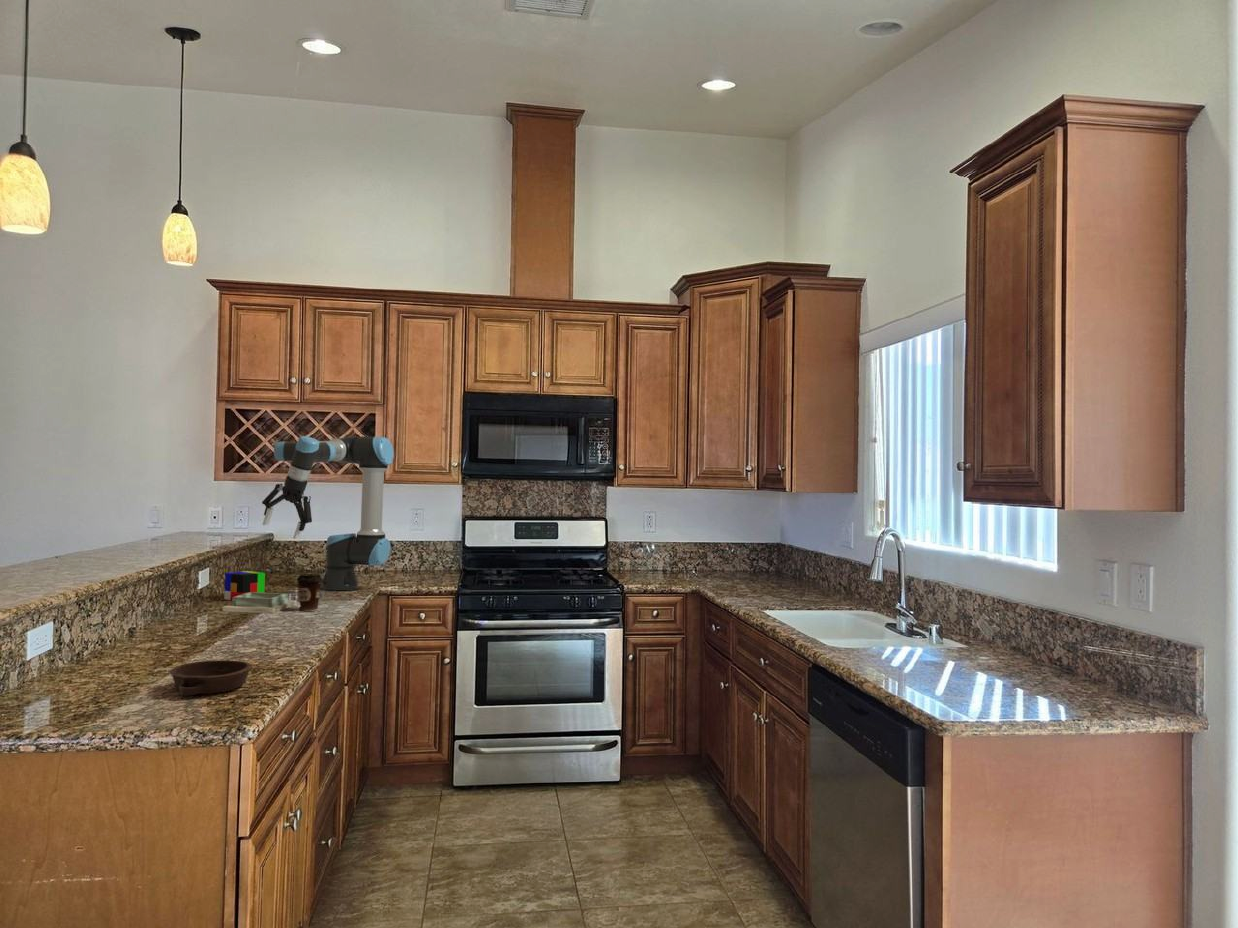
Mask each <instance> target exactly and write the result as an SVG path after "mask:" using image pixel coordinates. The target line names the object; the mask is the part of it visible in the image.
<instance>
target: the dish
mask: <svg viewBox="0 0 1238 928" xmlns="http://www.w3.org/2000/svg"><path fill="white" fill-rule="evenodd" d="M252 668H253V665H252V663H250V662H246V661H241V660H203V661H201V660H200V661H193V662H187V663H184V664H180V665H176V666H175V667H173V668H171V669H170V670H169V673H170V675H171V676H172V680H173V682H174V686H175V687H176V689H177V690H178V693H179V695H181V696H184V697H185V696H196V695H195V694H208V695H212V694H211V693H218V692H223V693H225V692H224V691H228V692H230V691H229V690H231V691H233V690H232V689H235V688H237V689H239V688H241V687H242V686H243V685H244V684H245V682H246V680H247V678H248V675H249V672H250V671H251V669H252ZM240 686H241V687H240ZM238 687H239V688H238ZM235 690H236V689H235ZM218 694H219V693H218Z"/></svg>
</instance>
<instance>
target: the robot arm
mask: <svg viewBox="0 0 1238 928" xmlns="http://www.w3.org/2000/svg"><path fill="white" fill-rule="evenodd" d="M273 456H274V458H275V459H276V460H277V461H279V462H290V465H289V469H288V471H287V475H286V477H285V480H284V485H283V484H282V483H277V484H275V486H274V488H273V490H271V492H270V493H269V494H268V495H267V496H266V497H265V498H264V499H263V500H262V503H261V504H262V505H264V506H265V508H264V513H263V516H264V518H263V521H262V526H268V525H270V522H271V518H272V516H273V512H274V506H275V505H278V503H281V502H282V501H283V500H285V501H287V502H289V503H291V504H293V505H294V507H295V509H296V512H297V515H298V519H299V521H298V522H297V526H296V528H295V531H294V535H293V537H292V539H294V540H296V539H300V537H301V534H302V532H303V531H305V528H306V524H310V523H312V522H313V518H312V517H313V516H312V509H311V498H312V497H311V495H304V492H305V491H306V489H307V488H306V487H307V485H308V480H309V478H310V475H311V471H312V469H313V466H314V464H315V463H318V464H319V463H328V462H342V463H347V464H348V463H349V464H353V465H354V464H357V465H358V469H359V470H360V471H361V473H362V476H361V477H362V480H361V507H360V508H361V509H360V529H359V531H357V533H353V532H351V533H344V534H335V535H334V534H332V535H329V536H328V537H327V540H326V551H325V552H326V553H325V554H326V556H325V557H326V558H325V559H326V560H325V562H326V563H325V573H324V575H323V577H322V579H323V581H322V583H321V587H320V590H323V591H330V590H334V591H335V592H337V591H338V590H346V591H354V590H358V589H359V580H358V577H357V574H356V573H357V572H356V570H355V568H356V567H355V566H356V565H357V566H370V567H379V566H382V565H384V564H385V563H386V562H387V560H388V559H389V557H390V553H391V547H392V546H391V541H390V540H389V539H388V538H387V537H386V532H385V531H384V530H383V508H384V507H383V506H384V504H383V503H384V481H385V480H384V474H385V472H386V471H388V468H389V467H388V466H390V465H391V464H392V463H393V462H394V461H393V460H394V457H395V452H394V446H393V444H392V443H391V441H390V440H389V439H388V438H387V437H384V436H364V435H363V436H355V435H354V436H348V437H347V436H344V437H339V438H332V439H330V440H318V439H316V438H314V437H310V436H307V435H306V436H305V435H301V436H299V438H298V440H297V441H286V440H285V441H278V442H276V443H275V445H274V447H273ZM280 492H282V494H281V495H279V496H277V495H278V494H279V493H280ZM276 496H277V497H276ZM275 497H276V498H275ZM274 498H275V499H274ZM336 590H337V591H336ZM338 592H339V591H338Z"/></svg>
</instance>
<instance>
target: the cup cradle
mask: <svg viewBox="0 0 1238 928" xmlns="http://www.w3.org/2000/svg"><path fill="white" fill-rule="evenodd" d="M231 601H232V603H231V604H228V605H225V606H222V612H227V613H228V612H230V613H254V614H255V613H257V614H275V613H278V612H280V610H281V611H283V610H286V609H288V607H289V608H291V607H294V606H296V605H297V600H289V593H282V592H281V593H279V592H278V593H277V592H264V593H257V592H249V593H246V594H242V595H239V596H236V597H233V600H231ZM285 608H286V609H285Z"/></svg>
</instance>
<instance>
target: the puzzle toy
mask: <svg viewBox="0 0 1238 928" xmlns="http://www.w3.org/2000/svg"><path fill="white" fill-rule="evenodd" d="M265 576H266V573H265V572H260V571H259V572H258V571H251V570H243V571H235V572H225V574H224V600H228V601H232V600H233V597H236V596H239V595H242V594H246V593H249V592H257V593H265V585H266V583H265V582H266V577H265Z"/></svg>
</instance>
